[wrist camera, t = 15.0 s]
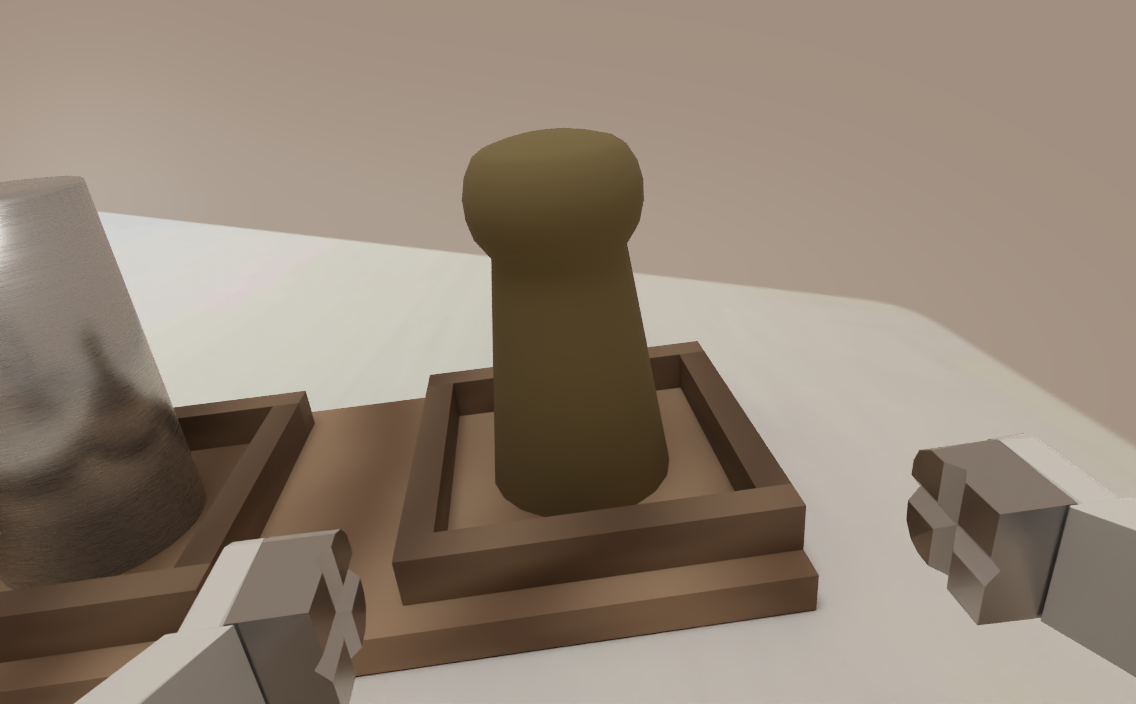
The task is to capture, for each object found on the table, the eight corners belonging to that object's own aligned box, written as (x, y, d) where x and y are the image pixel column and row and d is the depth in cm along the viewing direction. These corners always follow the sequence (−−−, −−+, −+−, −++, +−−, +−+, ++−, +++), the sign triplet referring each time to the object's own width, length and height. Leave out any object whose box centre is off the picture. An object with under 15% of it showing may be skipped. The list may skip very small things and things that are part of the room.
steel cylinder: (-48, 607, 20) (-279, 244, 15) (67, 486, 26) (-77, 190, 21) (160, 578, 20) (-5, 212, 16) (231, 465, 26) (123, 168, 21)
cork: (569, 404, 28) (537, 117, 23) (703, 446, 24) (697, 115, 19) (457, 480, 24) (391, 150, 19) (598, 545, 20) (559, 156, 15)
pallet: (-228, 760, 17) (-294, 685, 16) (66, 469, 29) (39, 414, 28) (816, 609, 18) (821, 529, 17) (692, 387, 30) (691, 331, 29)
